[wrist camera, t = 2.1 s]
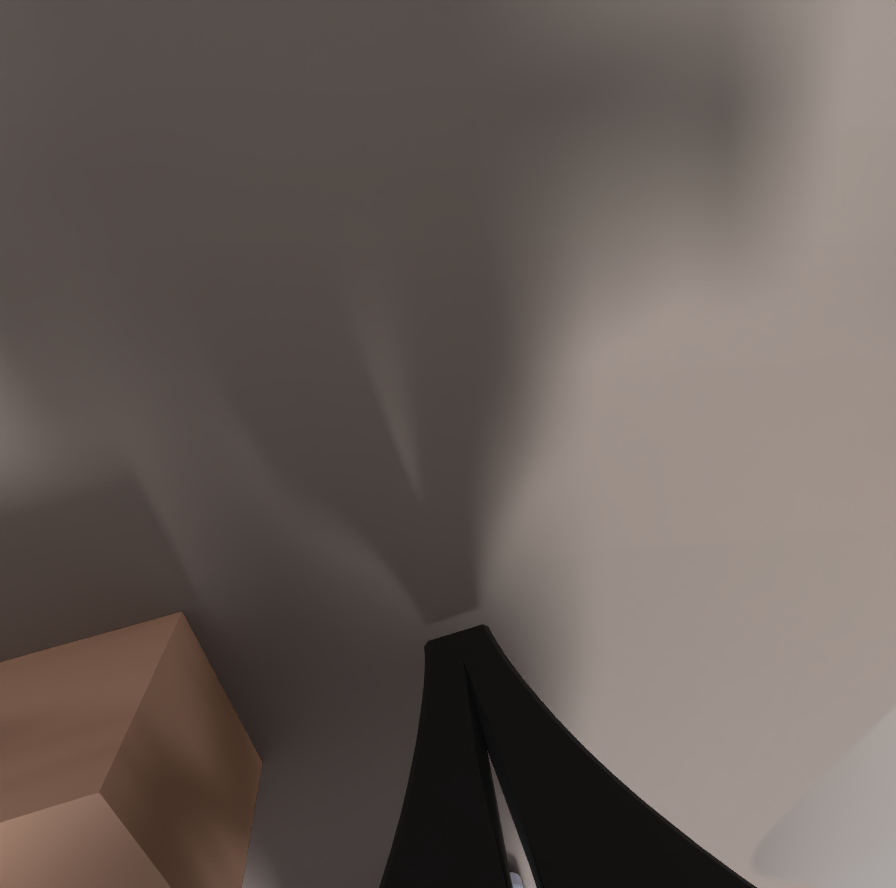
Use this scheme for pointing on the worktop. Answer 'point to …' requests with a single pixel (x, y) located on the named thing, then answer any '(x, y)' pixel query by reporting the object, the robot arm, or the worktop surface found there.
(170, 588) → the worktop surface
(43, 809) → the terracotta block
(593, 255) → the worktop surface
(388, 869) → the robot arm
